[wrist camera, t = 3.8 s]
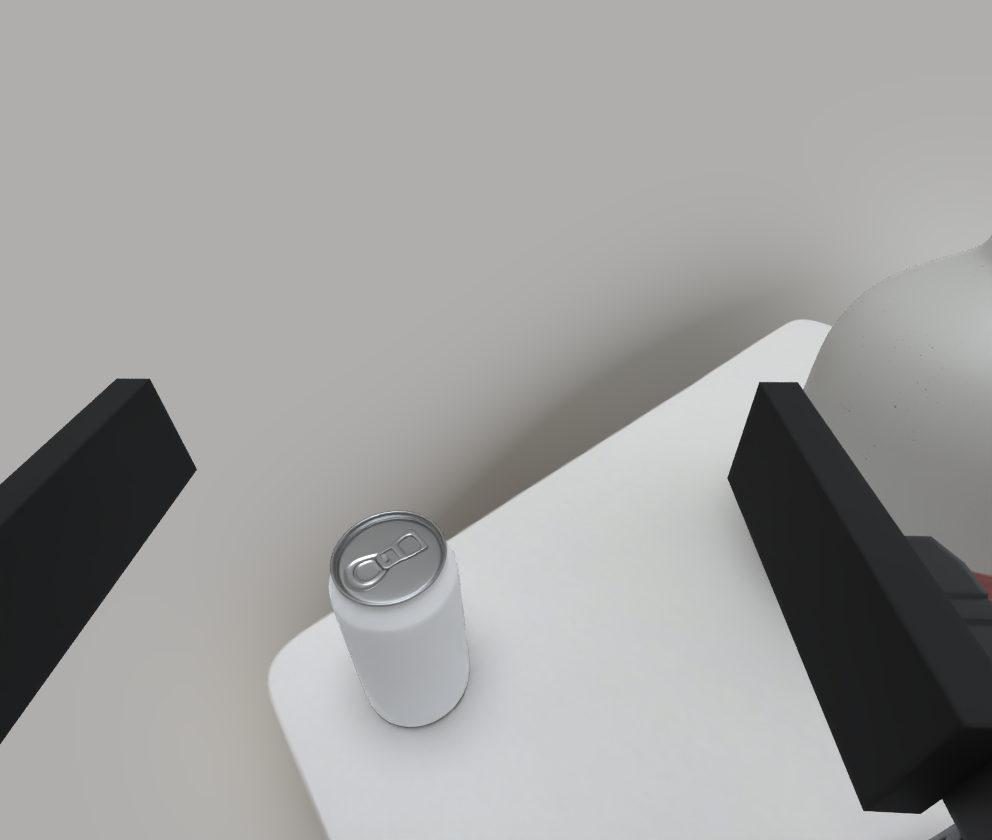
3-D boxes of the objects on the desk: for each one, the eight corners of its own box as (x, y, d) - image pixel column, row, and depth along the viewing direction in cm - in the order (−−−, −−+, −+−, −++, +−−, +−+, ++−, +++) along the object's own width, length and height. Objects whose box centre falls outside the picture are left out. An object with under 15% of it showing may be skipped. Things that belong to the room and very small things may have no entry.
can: (347, 669, 34) (297, 548, 26) (431, 608, 37) (409, 485, 29) (402, 756, 30) (362, 643, 22) (491, 680, 33) (483, 558, 25)
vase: (709, 557, 39) (820, 240, 25) (806, 450, 48) (930, 169, 34) (988, 736, 30) (1450, 384, 15) (1046, 560, 38) (1371, 231, 24)
